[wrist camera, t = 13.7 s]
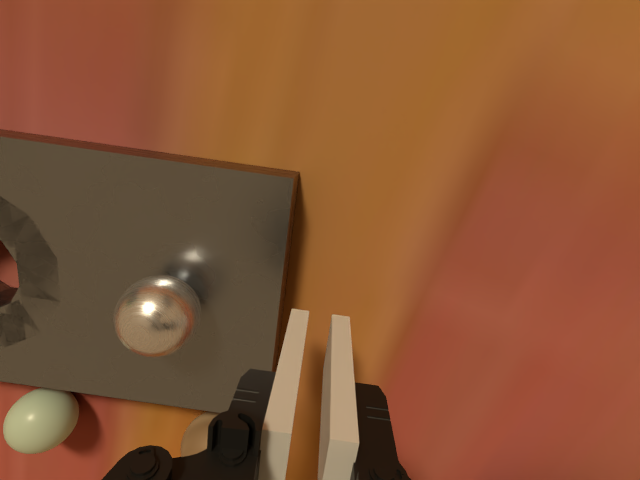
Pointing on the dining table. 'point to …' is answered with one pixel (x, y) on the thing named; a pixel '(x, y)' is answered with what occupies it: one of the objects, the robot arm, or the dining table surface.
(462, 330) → the dining table surface
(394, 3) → the dining table surface
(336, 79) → the dining table surface
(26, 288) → the plate
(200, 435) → the cork ball
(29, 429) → the pale green ball
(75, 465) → the dining table surface
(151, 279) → the steel ball
